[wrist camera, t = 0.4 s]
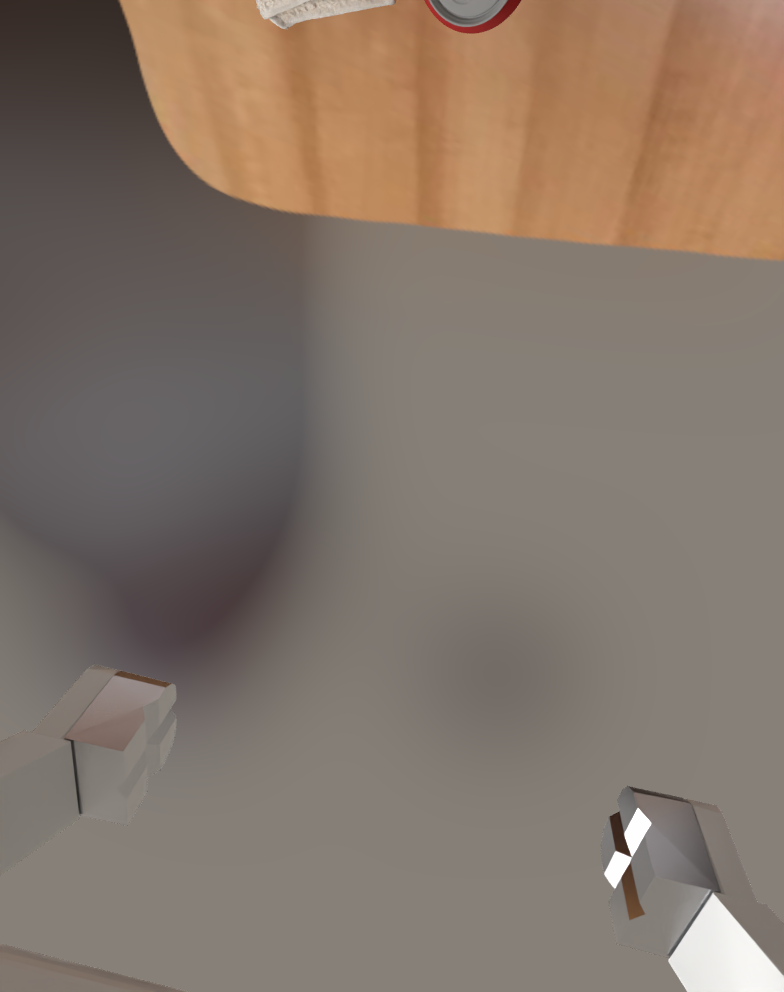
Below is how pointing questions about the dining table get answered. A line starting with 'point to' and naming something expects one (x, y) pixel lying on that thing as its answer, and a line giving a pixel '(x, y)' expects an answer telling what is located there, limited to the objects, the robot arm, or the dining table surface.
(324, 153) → the dining table surface
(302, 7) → the washcloth
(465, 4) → the beverage can
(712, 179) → the dining table surface
